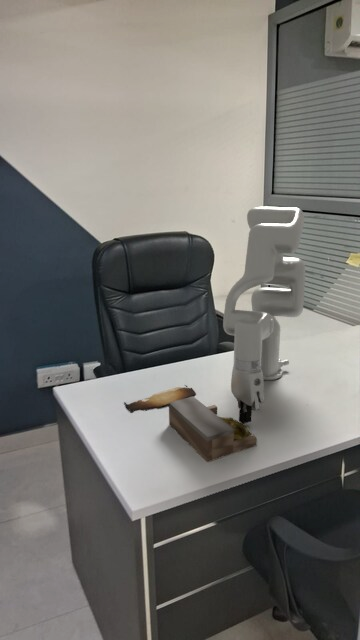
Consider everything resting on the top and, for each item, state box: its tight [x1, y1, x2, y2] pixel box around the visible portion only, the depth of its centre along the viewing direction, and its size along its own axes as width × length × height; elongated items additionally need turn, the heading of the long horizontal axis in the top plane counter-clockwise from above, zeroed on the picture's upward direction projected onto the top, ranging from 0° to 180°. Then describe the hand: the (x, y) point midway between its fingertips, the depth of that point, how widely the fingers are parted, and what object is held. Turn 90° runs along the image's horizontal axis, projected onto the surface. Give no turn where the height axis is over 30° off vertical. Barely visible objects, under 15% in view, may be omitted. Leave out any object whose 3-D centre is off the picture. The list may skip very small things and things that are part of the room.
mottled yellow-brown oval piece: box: [219, 416, 252, 441], centre depth 136 cm, size 9×5×15 cm
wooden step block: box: [168, 395, 258, 463], centre depth 133 cm, size 16×21×7 cm
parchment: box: [124, 384, 197, 413], centre depth 155 cm, size 25×10×1 cm, turn 122°
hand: (245, 421), depth 139 cm, fingers closed
